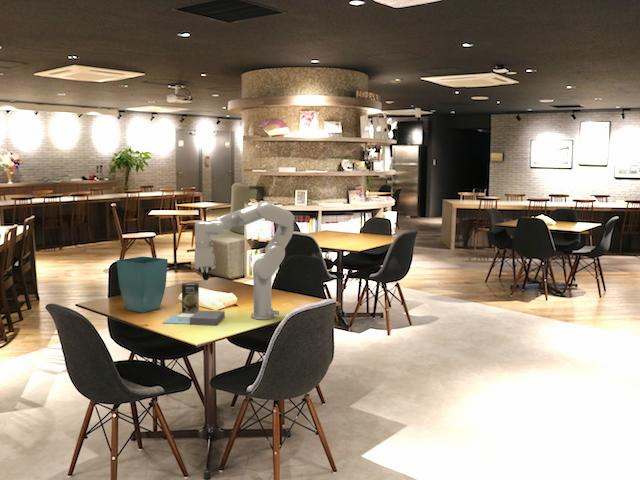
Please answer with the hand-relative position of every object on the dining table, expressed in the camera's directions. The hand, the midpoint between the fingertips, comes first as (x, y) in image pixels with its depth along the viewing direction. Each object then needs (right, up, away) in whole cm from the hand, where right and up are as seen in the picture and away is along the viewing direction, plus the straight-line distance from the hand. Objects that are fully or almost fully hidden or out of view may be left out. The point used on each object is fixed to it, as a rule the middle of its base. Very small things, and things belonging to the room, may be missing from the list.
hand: (206, 279), depth 330 cm
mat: (-14, -21, +1) cm, 25 cm away
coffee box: (-12, -19, +18) cm, 29 cm away
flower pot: (-39, -18, +24) cm, 49 cm away
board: (+1, -22, 0) cm, 22 cm away
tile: (-10, -21, +1) cm, 23 cm away
